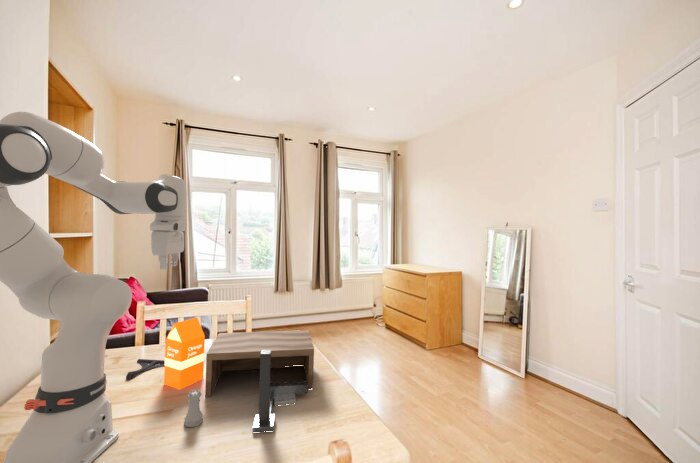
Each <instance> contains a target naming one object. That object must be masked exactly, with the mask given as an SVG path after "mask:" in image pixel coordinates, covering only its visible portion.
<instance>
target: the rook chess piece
mask: <svg viewBox="0 0 700 463" xmlns="http://www.w3.org/2000/svg"><path fill="white" fill-rule="evenodd" d="M201 396H202V393H201V390H199V389H193V390H190V391H189V393H188V394H187V396H186V397H187V399H188V401H187V403H188V409H187V413H186V415H185V417H184V418H183V419H184V422H183V425H184V426H185V427H186V428H195V427H198V426H199V425H201V424H202V423H203V421H204V419H203V418H204V415H203V413H202V410H201V408H200V407H201V406H200V402H201V399H200V398H201Z"/></svg>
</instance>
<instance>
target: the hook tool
mask: <svg viewBox="0 0 700 463" xmlns="http://www.w3.org/2000/svg"><path fill="white" fill-rule="evenodd" d="M271 372H272V368H271V350H261V353H260V369H259V397H258V398H259V400H258V404H259V405H258V413H257V414H255V417H254V420H253V424H252V425H253V426H252V433H253V432H264V431H265V432H266V431H273V430H275V424H274V423H276V413H272V409H273V405H274V394H294V393H295V394H307V393H308V386H307V380H305V381H289V382H288V381H284V382H271V380H272V379H271V378H272V377H271V376H272V375H271ZM273 432H274V431H273Z"/></svg>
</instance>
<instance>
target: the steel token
mask: <svg viewBox="0 0 700 463" xmlns="http://www.w3.org/2000/svg"><path fill="white" fill-rule="evenodd" d="M294 403H296V404H297V398H296V393H294V394H274V397H273V406H274V405H275V406H278V405H286V404H294ZM275 406H274V407H275ZM278 407H279V406H278Z"/></svg>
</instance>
